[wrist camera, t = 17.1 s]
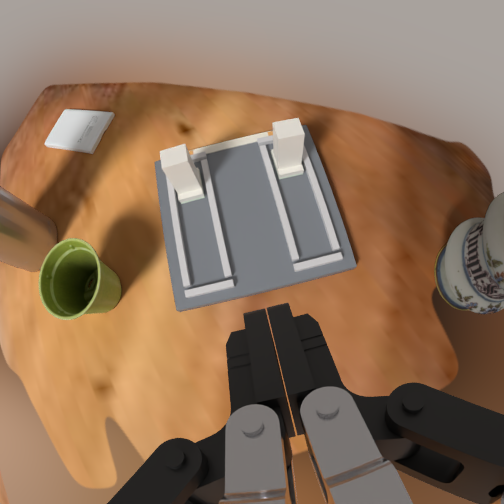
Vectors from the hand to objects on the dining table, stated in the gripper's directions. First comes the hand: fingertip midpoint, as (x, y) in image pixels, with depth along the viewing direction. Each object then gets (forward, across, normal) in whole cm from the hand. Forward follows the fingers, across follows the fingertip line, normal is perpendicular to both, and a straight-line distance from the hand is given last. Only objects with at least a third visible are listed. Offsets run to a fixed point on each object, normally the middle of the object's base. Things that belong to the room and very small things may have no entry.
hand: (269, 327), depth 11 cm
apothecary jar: (+20, -27, +20) cm, 39 cm away
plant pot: (+27, +21, +12) cm, 37 cm away
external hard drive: (+48, +25, -8) cm, 55 cm away
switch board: (+31, 0, +8) cm, 32 cm away
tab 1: (+33, +6, +4) cm, 34 cm away
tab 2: (+33, -7, +4) cm, 34 cm away
